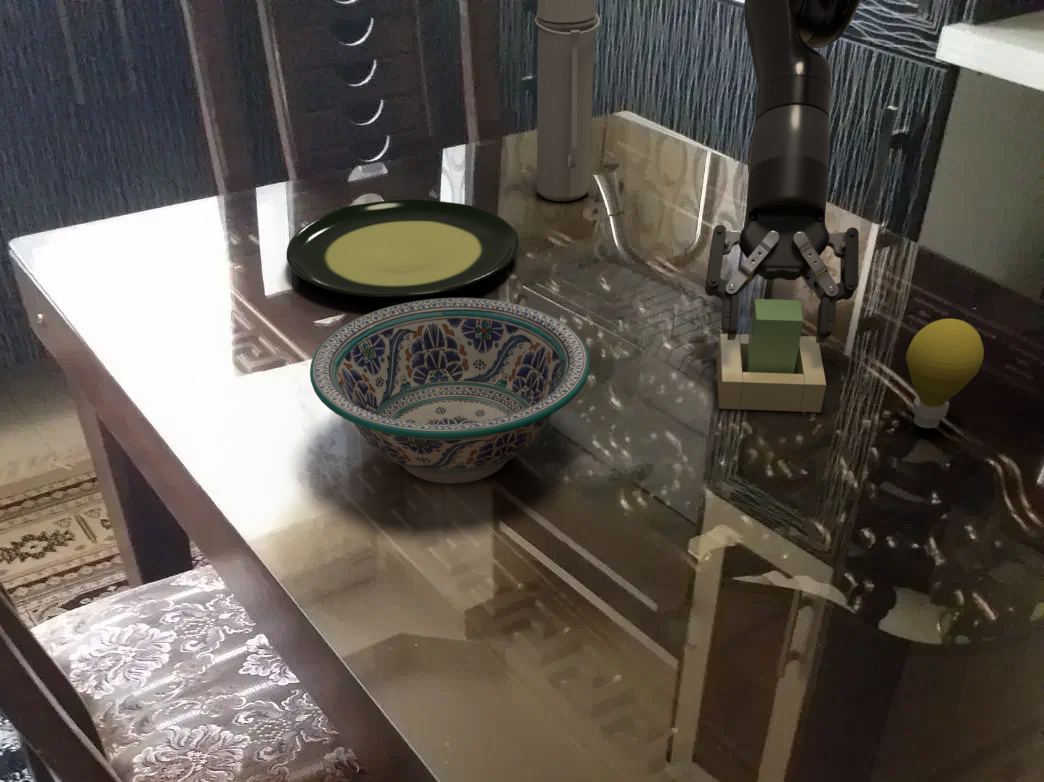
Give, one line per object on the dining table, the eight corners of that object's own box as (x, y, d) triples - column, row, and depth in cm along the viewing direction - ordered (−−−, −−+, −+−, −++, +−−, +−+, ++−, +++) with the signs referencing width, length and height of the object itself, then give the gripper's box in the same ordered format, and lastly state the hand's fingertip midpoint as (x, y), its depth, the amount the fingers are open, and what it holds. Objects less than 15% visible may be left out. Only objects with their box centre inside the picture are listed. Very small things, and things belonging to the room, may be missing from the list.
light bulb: (888, 435, 109) (913, 334, 102) (892, 400, 114) (917, 302, 107) (961, 444, 108) (993, 343, 101) (963, 409, 112) (993, 310, 105)
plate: (243, 263, 140) (239, 242, 139) (419, 199, 153) (417, 180, 151) (384, 339, 126) (382, 317, 124) (566, 262, 138) (567, 241, 136)
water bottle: (528, 186, 155) (528, -33, 137) (584, 180, 156) (592, -38, 138) (543, 212, 149) (545, -14, 131) (601, 206, 150) (612, -19, 132)
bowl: (272, 448, 111) (255, 355, 104) (471, 363, 121) (468, 273, 114) (432, 566, 97) (425, 467, 90) (641, 457, 108) (649, 362, 101)
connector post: (786, 376, 118) (800, 299, 112) (789, 397, 115) (803, 320, 109) (743, 374, 118) (754, 298, 112) (744, 395, 115) (756, 319, 109)
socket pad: (812, 363, 119) (818, 336, 117) (820, 412, 112) (826, 384, 110) (716, 360, 120) (719, 333, 118) (718, 409, 114) (722, 381, 111)
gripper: (717, 150, 108) (705, 323, 108) (872, 152, 107) (860, 327, 107) (710, 188, 116) (699, 349, 116) (855, 190, 114) (843, 354, 114)
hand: (776, 339), depth 111 cm, fingers open, 8 cm apart
